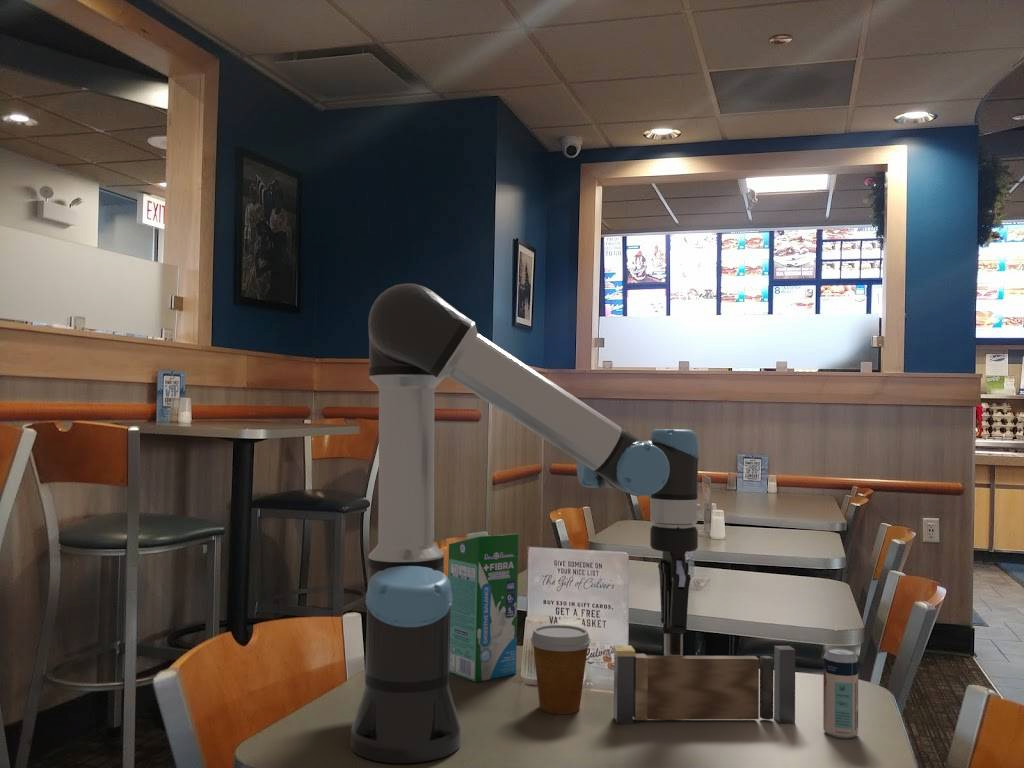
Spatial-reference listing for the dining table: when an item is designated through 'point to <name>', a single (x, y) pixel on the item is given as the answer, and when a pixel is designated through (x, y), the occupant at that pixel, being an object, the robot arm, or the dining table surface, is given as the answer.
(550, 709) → the disposable coffee cup
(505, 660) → the milk carton
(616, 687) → the post
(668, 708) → the garden gate
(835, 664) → the supplement bottle
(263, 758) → the dining table surface
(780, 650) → the hinge post
